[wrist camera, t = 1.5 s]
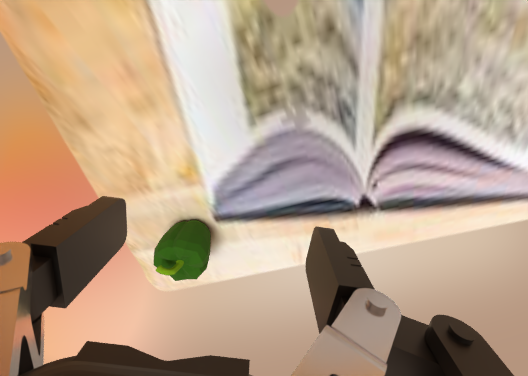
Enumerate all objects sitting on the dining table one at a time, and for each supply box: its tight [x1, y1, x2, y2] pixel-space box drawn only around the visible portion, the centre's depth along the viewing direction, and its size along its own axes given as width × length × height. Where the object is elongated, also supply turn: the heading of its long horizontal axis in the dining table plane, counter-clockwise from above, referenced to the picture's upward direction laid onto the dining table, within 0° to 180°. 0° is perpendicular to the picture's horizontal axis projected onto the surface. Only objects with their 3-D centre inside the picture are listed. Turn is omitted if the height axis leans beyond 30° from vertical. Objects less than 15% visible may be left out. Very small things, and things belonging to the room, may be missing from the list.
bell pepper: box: [154, 220, 210, 281], centre depth 41 cm, size 8×8×10 cm
